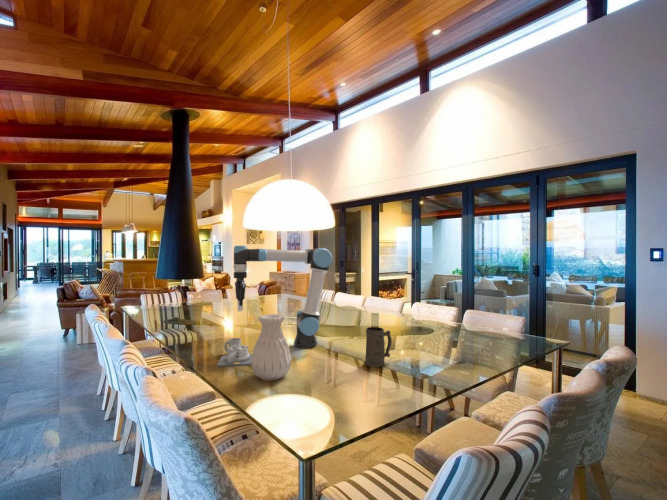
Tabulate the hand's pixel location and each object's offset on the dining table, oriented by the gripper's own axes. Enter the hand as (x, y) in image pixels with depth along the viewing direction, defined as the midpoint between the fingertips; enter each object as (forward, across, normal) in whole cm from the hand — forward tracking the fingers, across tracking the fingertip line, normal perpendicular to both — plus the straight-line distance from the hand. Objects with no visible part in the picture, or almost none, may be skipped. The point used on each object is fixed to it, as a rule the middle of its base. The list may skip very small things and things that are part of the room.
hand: (240, 310), depth 214 cm
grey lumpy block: (+23, +14, -8) cm, 28 cm away
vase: (+27, +44, 0) cm, 51 cm away
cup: (+27, -4, -3) cm, 27 cm away
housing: (+26, +10, -5) cm, 29 cm away
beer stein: (+27, +58, +58) cm, 86 cm away
